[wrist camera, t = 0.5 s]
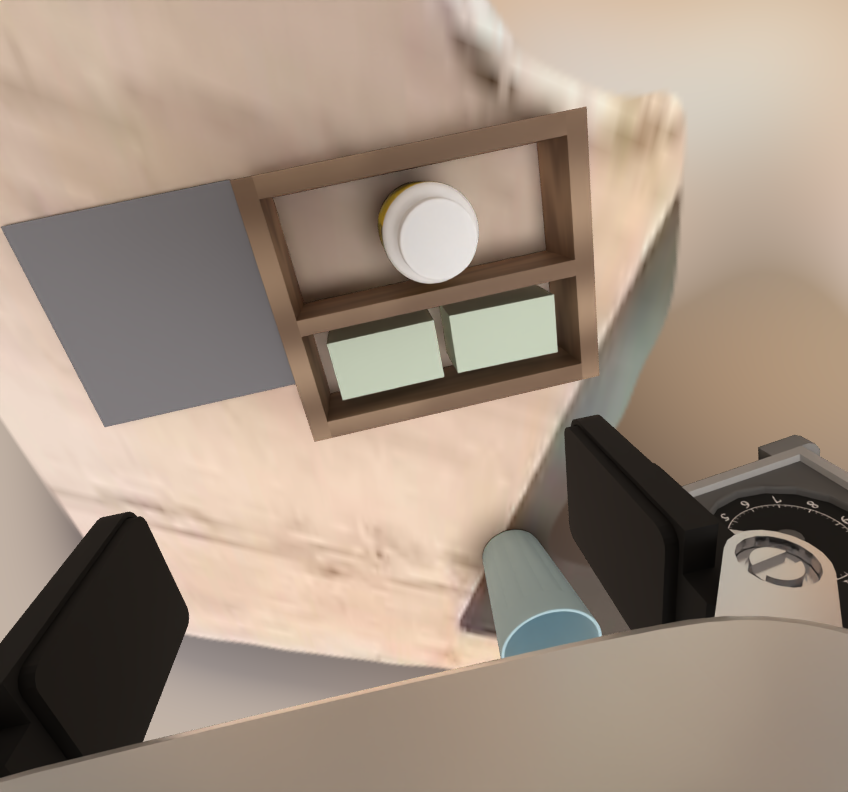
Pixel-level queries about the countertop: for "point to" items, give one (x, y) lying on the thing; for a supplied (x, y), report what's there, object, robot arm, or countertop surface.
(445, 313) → the offcut
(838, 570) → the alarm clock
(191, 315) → the mat
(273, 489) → the countertop surface
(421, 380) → the offcut
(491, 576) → the cup
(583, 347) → the rack
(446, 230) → the supplement bottle
